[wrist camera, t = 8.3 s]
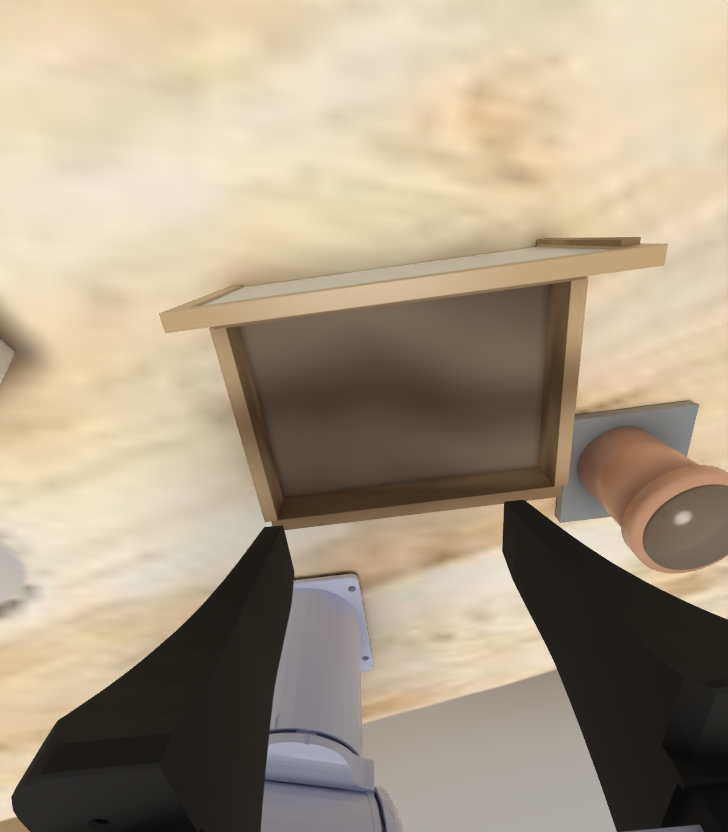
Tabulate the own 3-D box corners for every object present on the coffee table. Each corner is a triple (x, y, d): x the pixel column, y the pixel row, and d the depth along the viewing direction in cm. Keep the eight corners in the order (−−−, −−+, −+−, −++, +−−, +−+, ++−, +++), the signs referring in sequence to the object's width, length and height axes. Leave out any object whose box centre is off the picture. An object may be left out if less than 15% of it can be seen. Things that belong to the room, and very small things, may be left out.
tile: (667, 503, 25) (674, 508, 24) (555, 516, 25) (560, 522, 25) (690, 400, 22) (699, 404, 22) (564, 416, 22) (569, 420, 22)
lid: (550, 256, 19) (663, 265, 12) (231, 299, 19) (165, 333, 12) (551, 242, 19) (667, 244, 12) (228, 287, 19) (158, 313, 12)
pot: (659, 492, 24) (749, 565, 18) (569, 507, 24) (631, 585, 19) (670, 411, 22) (776, 468, 16) (570, 429, 22) (641, 491, 17)
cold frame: (546, 471, 24) (609, 546, 18) (275, 504, 24) (251, 589, 18) (562, 236, 18) (659, 234, 13) (217, 284, 19) (156, 303, 13)
